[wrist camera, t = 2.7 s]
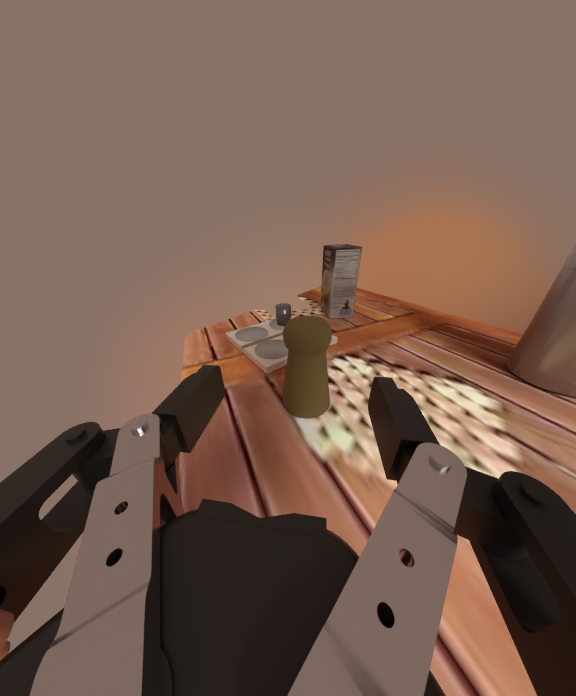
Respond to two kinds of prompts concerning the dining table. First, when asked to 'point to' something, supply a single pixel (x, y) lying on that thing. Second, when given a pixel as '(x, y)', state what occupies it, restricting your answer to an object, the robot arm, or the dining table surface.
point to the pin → (283, 314)
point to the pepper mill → (306, 366)
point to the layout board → (263, 344)
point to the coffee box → (339, 279)
